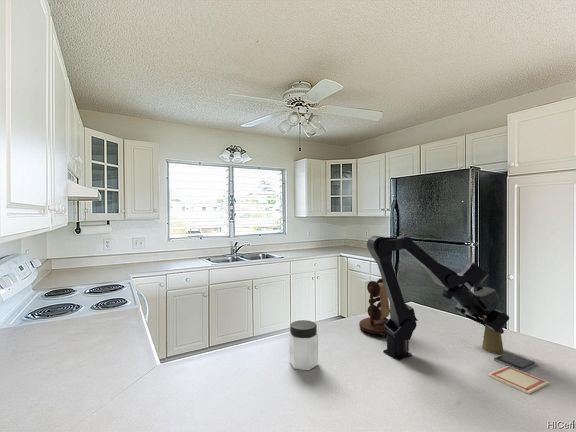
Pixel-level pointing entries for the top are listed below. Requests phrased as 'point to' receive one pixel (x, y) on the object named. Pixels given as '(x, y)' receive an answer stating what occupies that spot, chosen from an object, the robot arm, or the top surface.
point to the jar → (303, 345)
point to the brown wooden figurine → (376, 309)
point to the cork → (492, 341)
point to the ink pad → (515, 361)
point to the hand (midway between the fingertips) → (496, 329)
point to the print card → (518, 379)
